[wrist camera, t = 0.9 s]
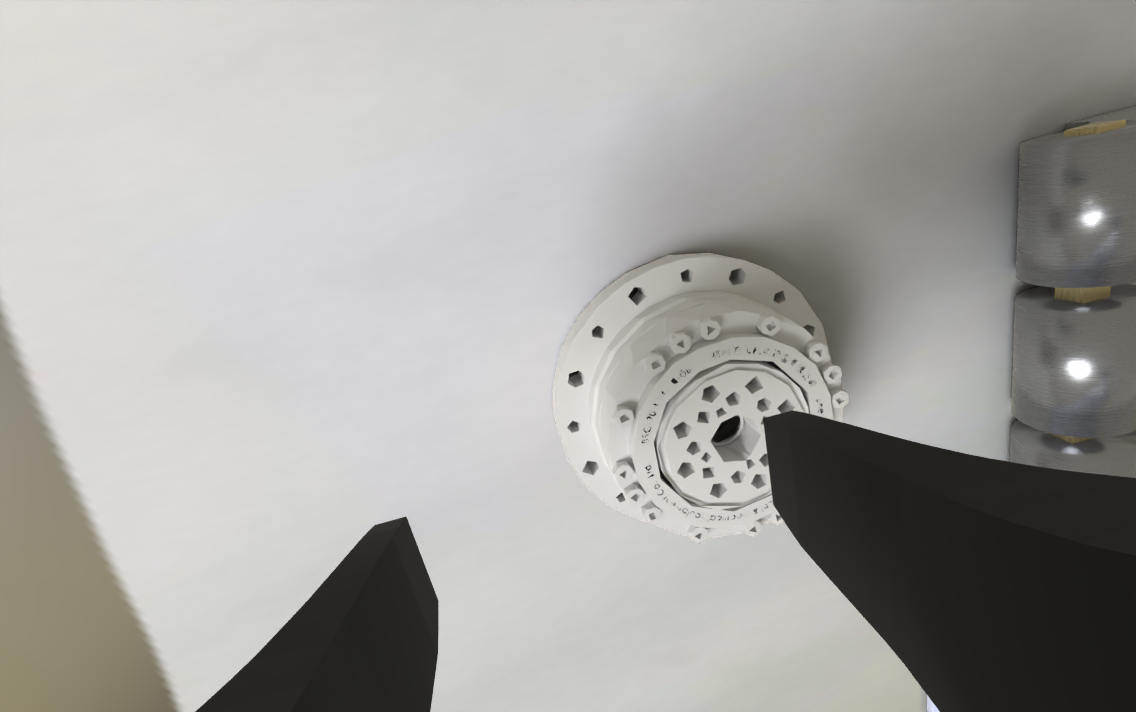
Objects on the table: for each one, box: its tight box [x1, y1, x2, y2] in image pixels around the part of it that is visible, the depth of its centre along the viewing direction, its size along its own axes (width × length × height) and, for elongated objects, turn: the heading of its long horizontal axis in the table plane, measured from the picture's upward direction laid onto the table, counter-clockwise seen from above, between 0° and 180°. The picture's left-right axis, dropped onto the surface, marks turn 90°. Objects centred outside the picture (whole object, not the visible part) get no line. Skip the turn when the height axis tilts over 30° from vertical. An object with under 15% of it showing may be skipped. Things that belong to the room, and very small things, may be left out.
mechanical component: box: [552, 253, 849, 543], centre depth 18 cm, size 10×4×10 cm
